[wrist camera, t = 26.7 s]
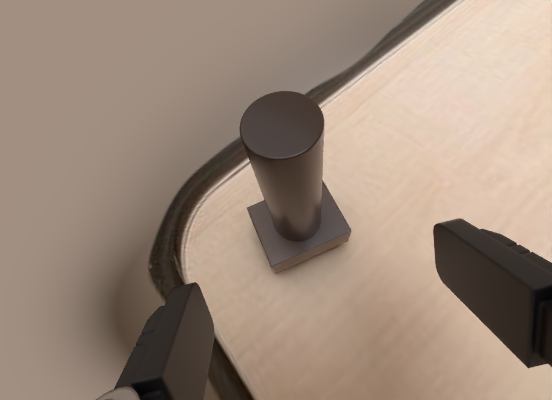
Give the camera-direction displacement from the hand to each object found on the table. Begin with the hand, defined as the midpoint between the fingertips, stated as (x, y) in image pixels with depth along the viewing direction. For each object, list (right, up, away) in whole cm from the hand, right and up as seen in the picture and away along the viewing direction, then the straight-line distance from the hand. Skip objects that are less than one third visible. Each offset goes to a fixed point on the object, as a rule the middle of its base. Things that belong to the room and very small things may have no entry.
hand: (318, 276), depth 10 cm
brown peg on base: (0, 0, +10) cm, 10 cm away
